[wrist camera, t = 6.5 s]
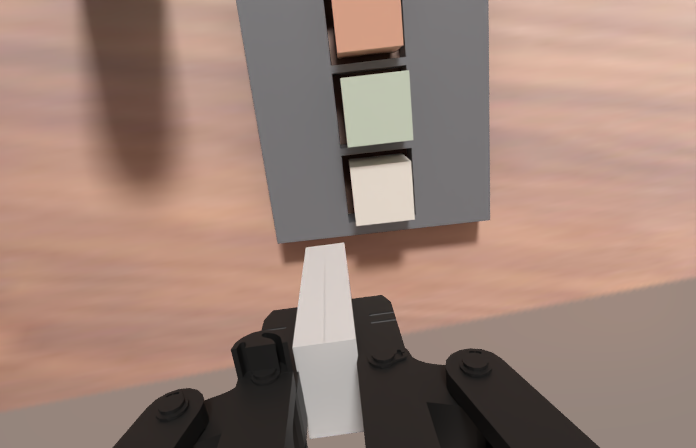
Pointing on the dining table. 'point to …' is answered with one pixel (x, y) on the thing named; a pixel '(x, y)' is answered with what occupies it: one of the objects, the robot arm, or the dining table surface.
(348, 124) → the tile two bar
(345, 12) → the orange cube
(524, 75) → the dining table surface
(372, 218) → the cream cube
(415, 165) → the tile board
